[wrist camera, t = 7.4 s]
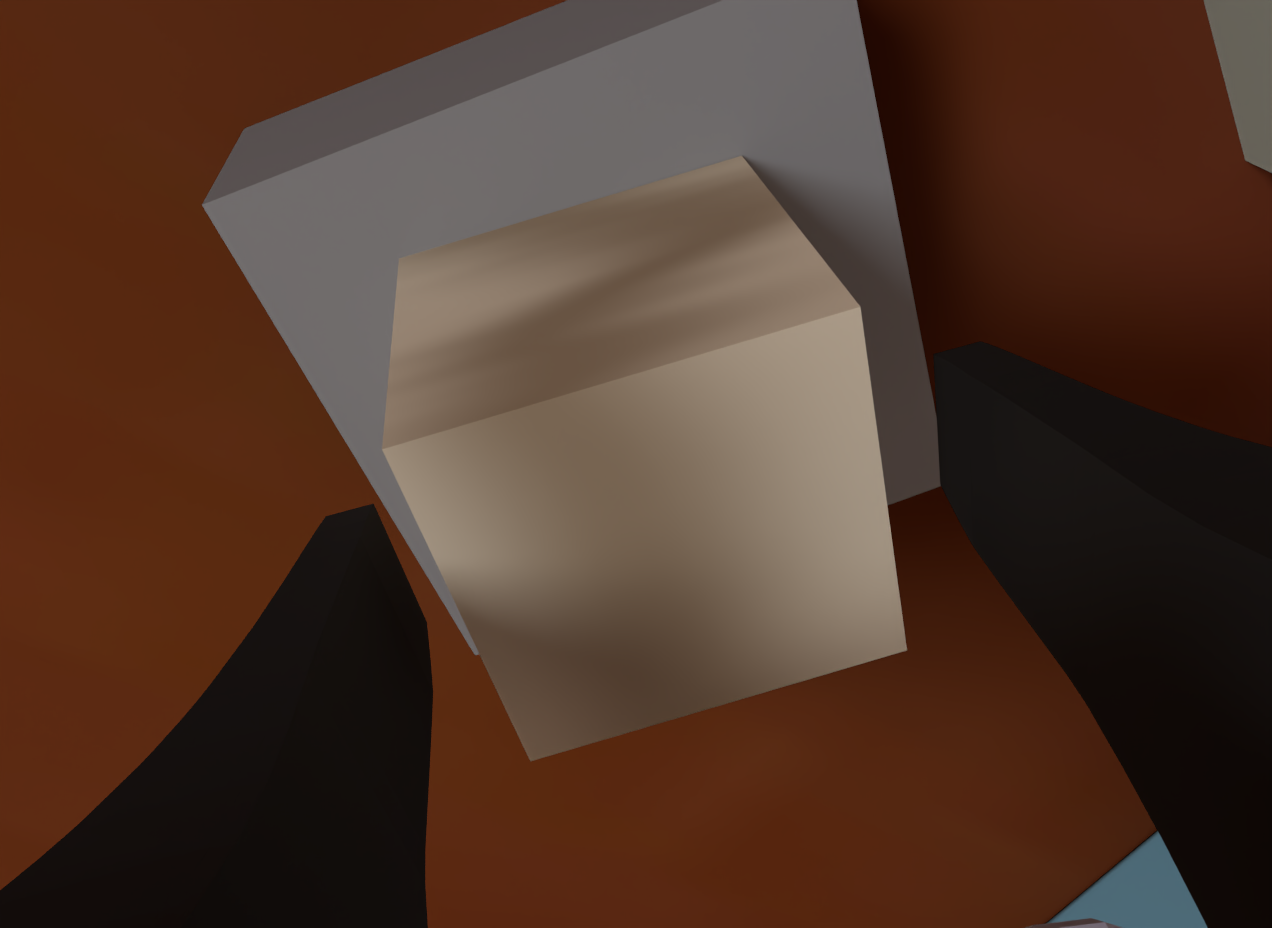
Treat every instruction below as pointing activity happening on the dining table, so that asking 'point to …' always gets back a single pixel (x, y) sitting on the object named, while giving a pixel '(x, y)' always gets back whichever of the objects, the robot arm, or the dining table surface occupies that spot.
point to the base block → (571, 185)
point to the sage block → (1247, 70)
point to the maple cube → (644, 455)
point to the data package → (1138, 893)
